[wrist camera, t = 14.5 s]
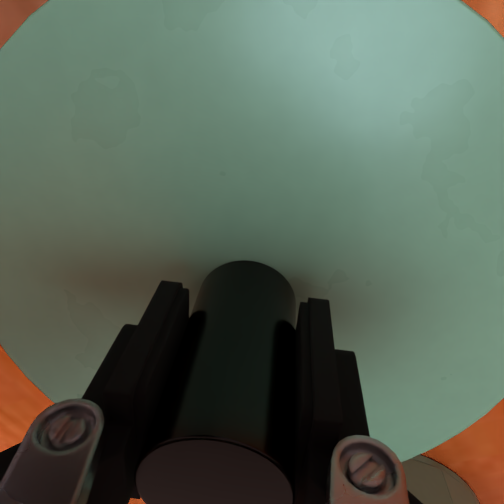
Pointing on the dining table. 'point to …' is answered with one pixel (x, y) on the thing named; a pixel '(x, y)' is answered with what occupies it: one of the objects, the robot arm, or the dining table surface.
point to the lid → (257, 216)
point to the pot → (436, 483)
